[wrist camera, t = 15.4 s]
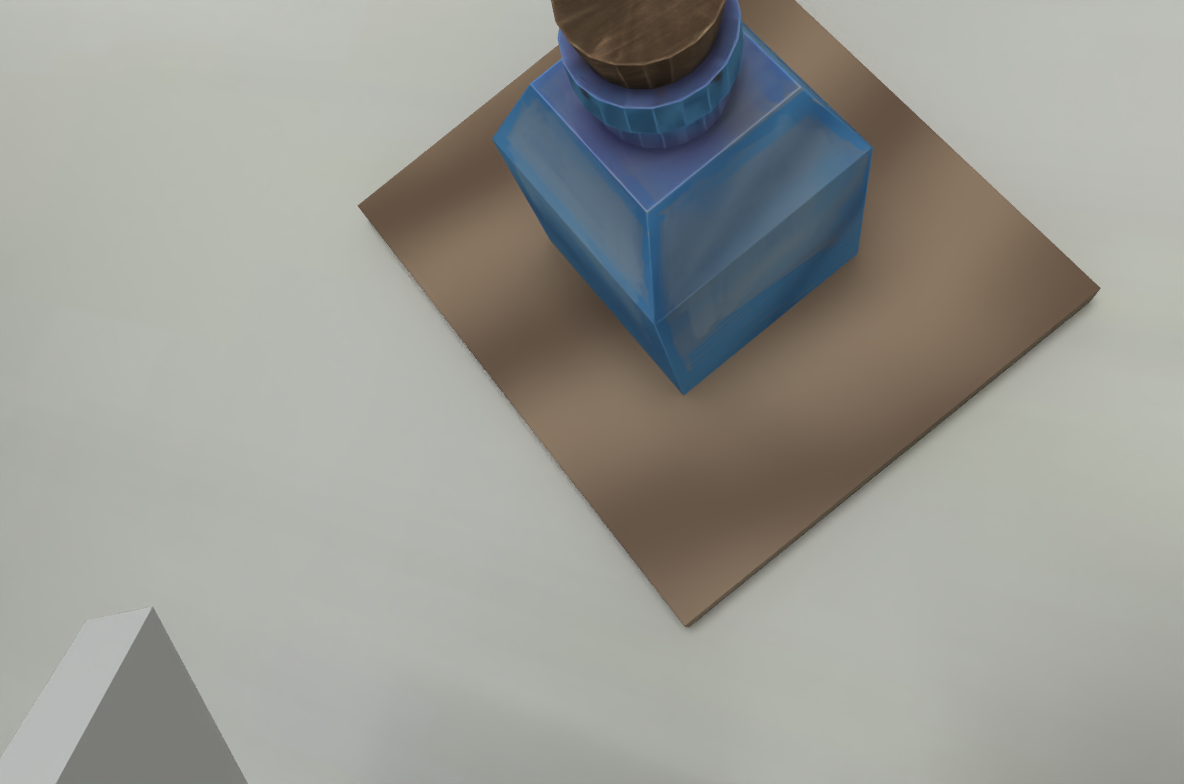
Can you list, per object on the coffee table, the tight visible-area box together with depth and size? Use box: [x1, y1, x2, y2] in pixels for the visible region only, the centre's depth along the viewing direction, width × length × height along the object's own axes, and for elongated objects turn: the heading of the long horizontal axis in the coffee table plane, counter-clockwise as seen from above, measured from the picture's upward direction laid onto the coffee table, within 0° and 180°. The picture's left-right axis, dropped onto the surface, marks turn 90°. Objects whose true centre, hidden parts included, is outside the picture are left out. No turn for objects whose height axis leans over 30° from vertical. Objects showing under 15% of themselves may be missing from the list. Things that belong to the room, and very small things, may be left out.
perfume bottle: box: [492, 0, 873, 396], centre depth 24 cm, size 6×6×12 cm
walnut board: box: [358, 0, 1100, 627], centre depth 30 cm, size 16×14×1 cm
